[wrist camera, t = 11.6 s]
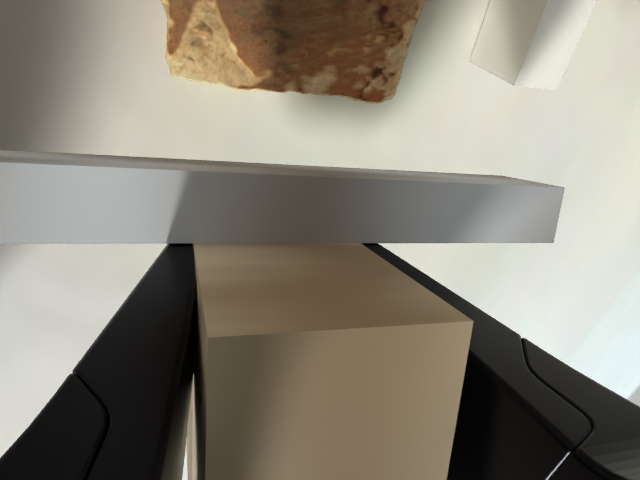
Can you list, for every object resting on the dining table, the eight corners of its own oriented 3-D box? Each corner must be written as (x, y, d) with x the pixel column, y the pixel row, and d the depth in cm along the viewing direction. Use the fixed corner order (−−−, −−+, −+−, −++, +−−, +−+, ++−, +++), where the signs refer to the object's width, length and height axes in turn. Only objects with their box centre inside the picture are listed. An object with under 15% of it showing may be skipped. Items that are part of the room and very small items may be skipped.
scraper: (-28, 479, 10) (-277, 930, 4) (-70, 143, 8) (-560, 203, 3) (449, 416, 14) (636, 621, 8) (489, 173, 12) (761, 224, 6)
